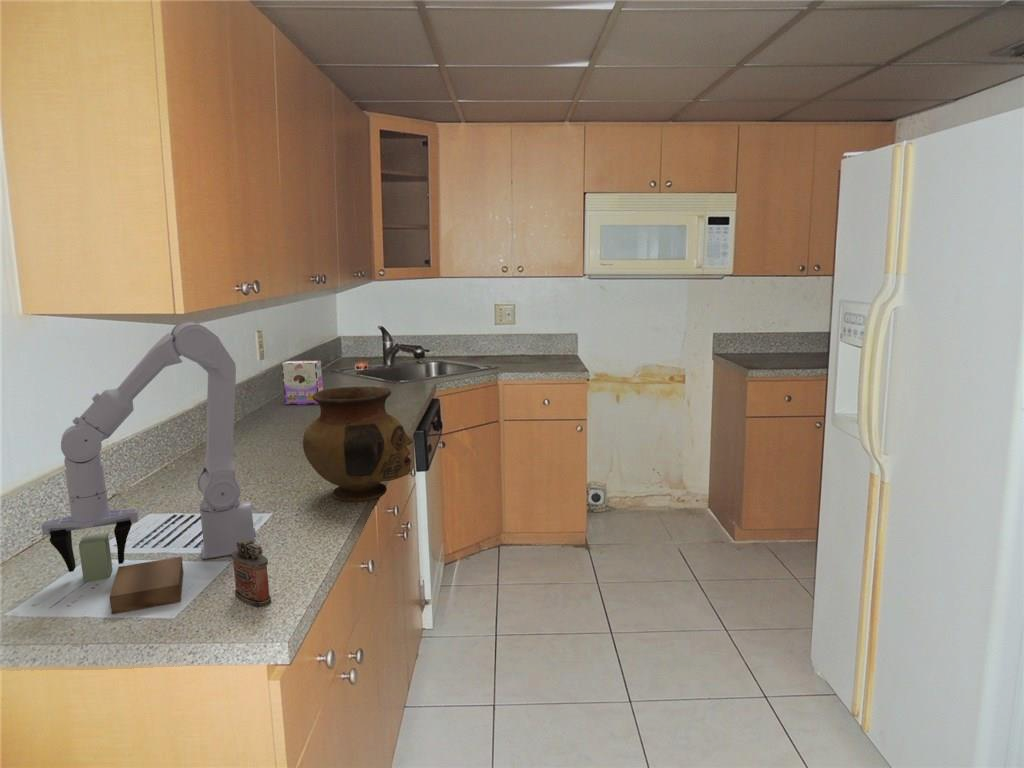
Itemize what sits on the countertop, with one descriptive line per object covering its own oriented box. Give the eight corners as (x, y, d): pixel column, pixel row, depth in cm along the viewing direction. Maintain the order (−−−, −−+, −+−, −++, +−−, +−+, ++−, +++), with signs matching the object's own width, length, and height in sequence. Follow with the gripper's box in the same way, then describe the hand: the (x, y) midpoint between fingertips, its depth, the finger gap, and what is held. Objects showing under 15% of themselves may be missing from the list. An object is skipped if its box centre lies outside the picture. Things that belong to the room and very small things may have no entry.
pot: (347, 475, 184) (343, 380, 180) (428, 484, 175) (425, 385, 171) (284, 504, 161) (277, 396, 157) (373, 516, 152) (369, 402, 148)
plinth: (183, 572, 127) (181, 556, 126) (180, 601, 116) (178, 584, 115) (120, 582, 123) (118, 566, 122) (111, 614, 112) (109, 596, 112)
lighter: (230, 595, 118) (224, 539, 116) (248, 588, 120) (243, 532, 118) (257, 610, 113) (252, 551, 111) (276, 601, 115) (271, 544, 113)
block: (112, 569, 129) (108, 533, 127) (109, 578, 125) (104, 541, 124) (87, 573, 127) (82, 536, 126) (83, 582, 123) (78, 545, 122)
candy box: (324, 401, 276) (321, 360, 273) (318, 404, 270) (316, 362, 267) (290, 401, 277) (287, 360, 274) (284, 404, 272) (281, 362, 269)
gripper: (33, 506, 117) (44, 582, 119) (131, 493, 122) (140, 566, 125) (42, 493, 123) (53, 566, 126) (135, 482, 129) (144, 552, 131)
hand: (97, 565), depth 126 cm, fingers open, 7 cm apart
